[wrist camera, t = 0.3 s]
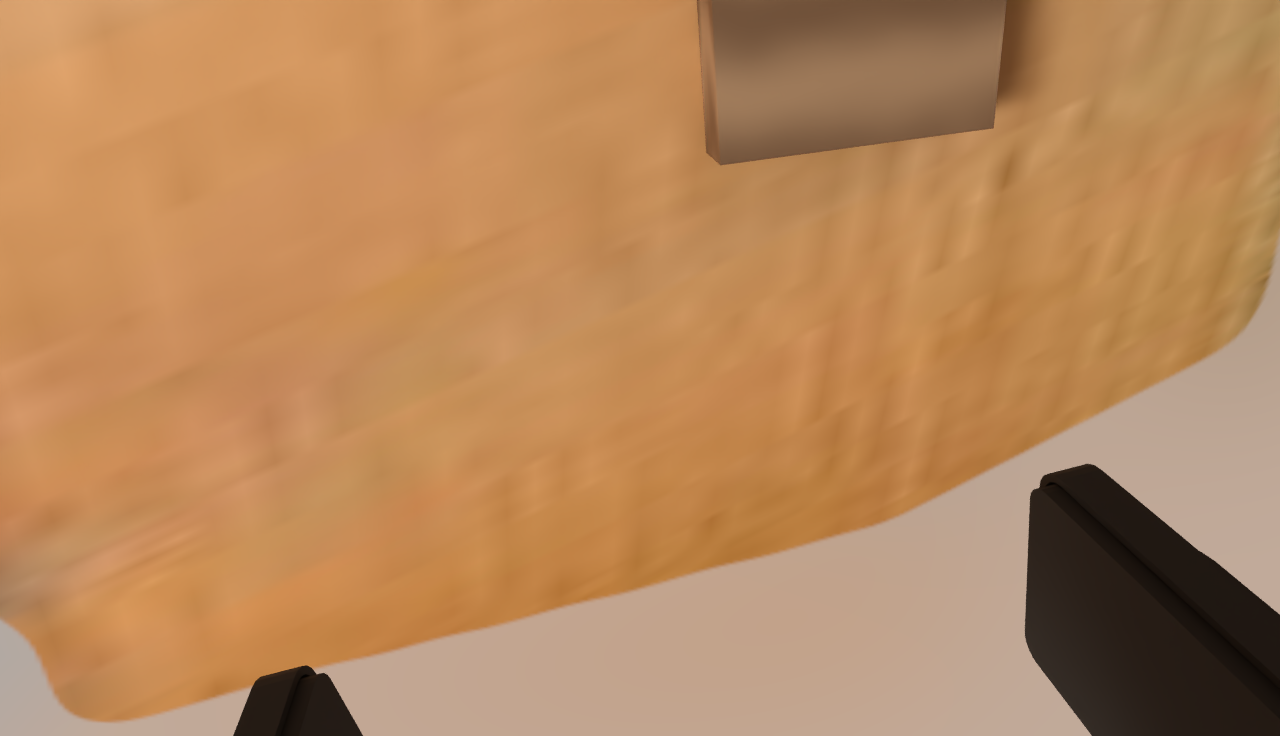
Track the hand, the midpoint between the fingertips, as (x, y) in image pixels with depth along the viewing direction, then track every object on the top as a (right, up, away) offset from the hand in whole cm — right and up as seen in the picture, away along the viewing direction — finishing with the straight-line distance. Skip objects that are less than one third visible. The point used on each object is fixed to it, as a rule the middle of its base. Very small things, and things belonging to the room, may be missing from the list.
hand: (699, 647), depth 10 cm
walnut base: (+8, +21, +25) cm, 33 cm away
